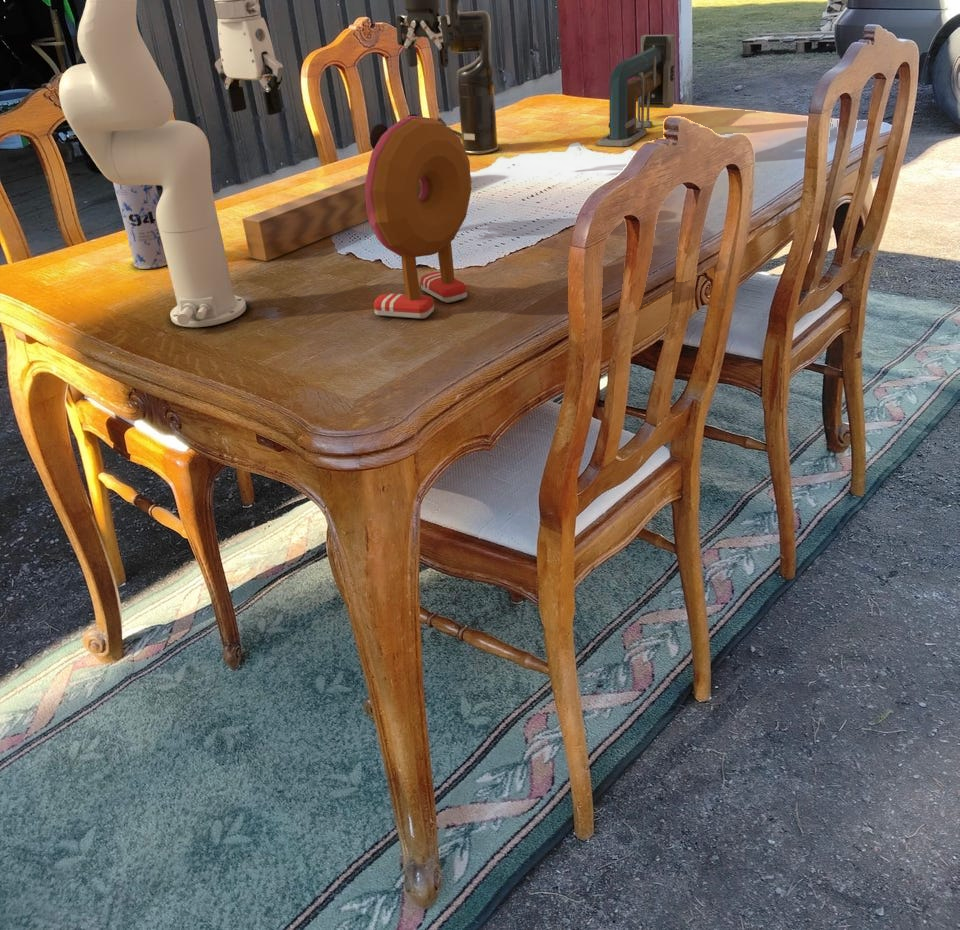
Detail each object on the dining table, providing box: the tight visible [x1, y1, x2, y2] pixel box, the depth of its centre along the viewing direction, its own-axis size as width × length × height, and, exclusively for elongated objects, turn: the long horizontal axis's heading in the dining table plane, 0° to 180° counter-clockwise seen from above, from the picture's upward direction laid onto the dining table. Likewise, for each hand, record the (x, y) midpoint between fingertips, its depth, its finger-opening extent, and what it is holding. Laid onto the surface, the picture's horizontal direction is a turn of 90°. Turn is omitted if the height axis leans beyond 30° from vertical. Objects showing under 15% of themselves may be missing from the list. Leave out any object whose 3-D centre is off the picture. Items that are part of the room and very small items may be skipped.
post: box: [242, 173, 422, 262], centre depth 207 cm, size 63×5×8 cm, turn 143°
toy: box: [365, 113, 473, 319], centre depth 153 cm, size 21×10×30 cm, turn 141°
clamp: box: [596, 34, 676, 147], centre depth 254 cm, size 35×9×21 cm, turn 151°
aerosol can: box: [112, 182, 168, 270], centre depth 186 cm, size 8×8×20 cm
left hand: (256, 112), depth 179 cm, fingers open, 9 cm apart
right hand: (428, 66), depth 212 cm, fingers open, 8 cm apart
